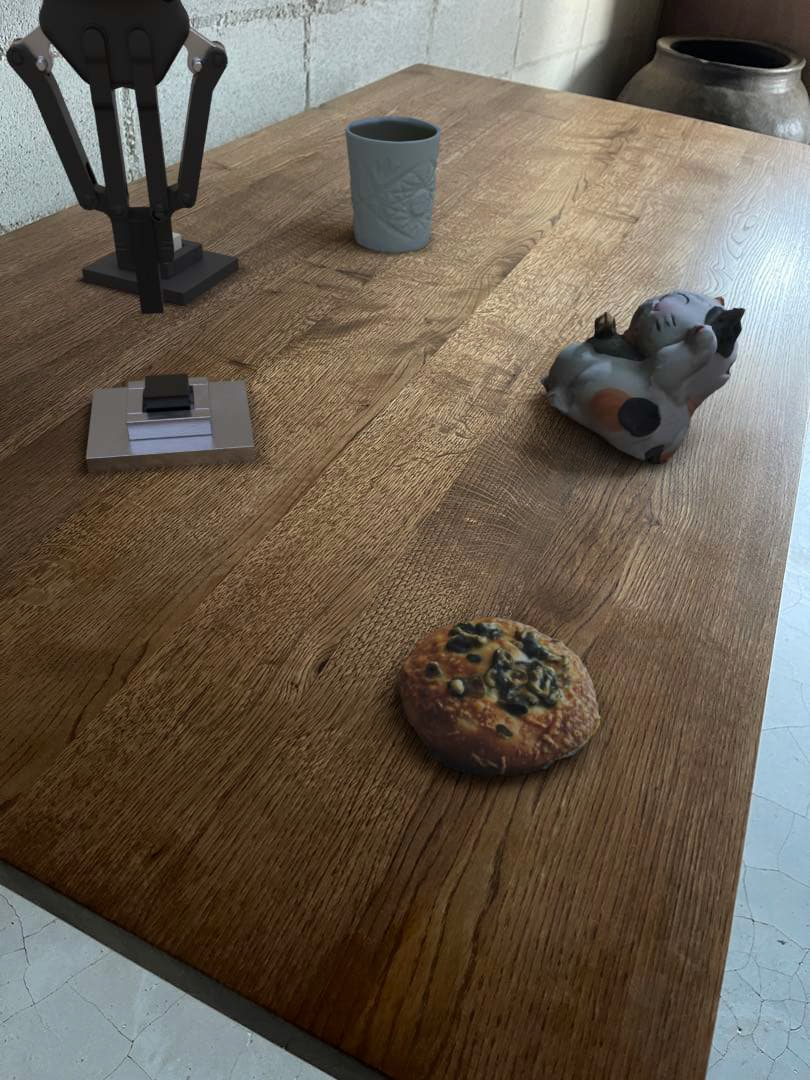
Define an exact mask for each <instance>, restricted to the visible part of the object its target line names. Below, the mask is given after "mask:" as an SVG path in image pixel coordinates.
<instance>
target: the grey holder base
mask: <svg viewBox="0 0 810 1080" xmlns="http://www.w3.org/2000/svg"><path fill="white" fill-rule="evenodd" d="M188 379H189V388H190V406H191V410H181V411H166V412H151V413H147V411H146V404H145V398H144V393H145V379H143V380H130V381H128V382H127V386H126V387H125V386H124V387H123V386H122V387H110V388H109V387H108V388H107V387H105V388H93V393H92V400H91V401H92V402H91V410H90V411H91V412H90V418H89V428H88V436H87V446H86V453H85V462H86V466H87V470H88V474H98V473H99V474H101V473H112V472H113V473H114V472H125V471H126V472H127V471H138V470H151V469H153V470H154V469H162V468H163V469H165V468H176V467H190V466H200V465H201V466H203V465H204V466H205V465H216V464H229V463H242V462H243V463H244V462H255V461H256V453H255V443H254V436H253V435H254V434H253V427H252V420H251V413H250V407H249V406H250V405H249V399H248V398H249V397H248V392H247V385H246V379H240V380H239V379H237V380H223V381H209V377H208V376H197V377H188Z"/></svg>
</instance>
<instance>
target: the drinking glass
mask: <svg viewBox="0 0 810 1080" xmlns="http://www.w3.org/2000/svg"><path fill="white" fill-rule="evenodd" d="M344 131H345V139H346V150H347V157H348V169H349V178H350V180H349V187H350V200H351V204H352V205H351V206H352V210H353V214H352V223H353V234H354V235H353V236H354V239H355V241H356V243H357V244H358V245H360V246H362V247H363V248H366V249H368V250H372V251H376V252H381V253H389V254H396V253H397V254H398V253H399V254H400V253H408V252H409V253H410V252H417V251H419V250H422V249H424V248H425V247H426V246H427V245H428V244H429V242H430V237H431V231H432V220H433V219H432V216H433V207H434V201H435V192H436V191H435V190H436V179H437V174H436V170H437V168H438V159H439V151H440V145H441V144H440V143H441V135H442V130H441V128H440V127H439V126H438V125H437V124H435V123H433V122H431V121H428V120H424V119H421V118H417V117H410V116H400V115H399V116H397V115H383V116H382V115H381V116H370V117H364V118H360V119H356V120H353V121H351V122H349V123H348V124H347V125H346V126H345V130H344Z"/></svg>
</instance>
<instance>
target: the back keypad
mask: <svg viewBox="0 0 810 1080" xmlns="http://www.w3.org/2000/svg"><path fill="white" fill-rule="evenodd" d="M181 244H182V248H180V249H178V250H176V251H175V252H174V258H173V262H172V263H159V265H160V273H161V281H162V289H163V302H168V303H171V304H176V305H180V306H186V305H188V304H190V303H191V302H193V301H194V300H196V299H197V298H199V297H200V296H202V295H204V294H205V293H206V292H208V291H210V290H211V289H213V288H214V287H215V286H217V285H219V284H220V283H222V282H224V280H225V279H227V278H229V277H230V276H232V275H234V274H235V273H236V272H238V271H239V270H240V268H239V267H240V266H239V265H240V264H239V258H238V257H236V256H232V255H227V254H223V253H219V252H215V251H209V250H205V249H203V244H202V242H197V241H193V240H189V239H184V238H181ZM81 274H82V277H83V282H86V283H90V284H94V285H98V286H103V287H106V288H111V289H114V290H119V291H123V292H127V293H131V294H135V295H139V292H138V285H137V277H136V270H135V264H120V262H119V260H118V259H117V257H116V250H115V249H114V251H112V252H110V253H108V254H106V255H104V256H103V257H102V256H101V258H98V259H97V260H95V261H93V262H91V263H89V264H88V265H86V266H84V267H82V268H81Z"/></svg>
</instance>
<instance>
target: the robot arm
mask: <svg viewBox="0 0 810 1080" xmlns="http://www.w3.org/2000/svg"><path fill="white" fill-rule="evenodd" d="M51 45H52V46H53V47H54V48H55V50H56V51H57V52H58V53H59V54H60V55H61V57H63V59H64V60H65V62H66V63H67V64H68V65H69V66H70V67H71V69H72V70H73V71H74V72H75V73H76V75H77V76H78V77H79V78H80V79H81V80H82V81H83V82H85V84H87V85H89V86H88V87H89V92H90V98H91V99H90V100H91V105H92V109H93V113H94V120H95V128H96V133H97V139H98V147H99V155H100V160H101V161H100V162H101V168H102V175H103V182H104V185H103V184H99V182H98V180H97V178H96V175H95V171H94V170H93V167H92V165H91V163H90V160H89V158H88V155H87V153H86V151H85V150H86V149H85V148H84V146H83V143H82V141H81V138H80V135H79V133H78V131H77V128H76V125H75V123H74V120H73V118H72V116H71V112H70V111H69V108H68V106H67V103H66V100H65V98H64V96H63V93H62V90H61V88H60V86H59V83H58V81H57V80H56V77H55V75H54V73H53V72H52V70H53V67H54V65H55V59H54V55H53V53H52V51H51ZM183 47H185V49H186V50H187V57H186V66H187V69H188V71H189V72H190V73H192V78H191V82H190V88H189V95H188V102H187V108H186V109H187V110H186V118H185V124H184V131H183V138H182V144H181V153H180V160H179V167H178V175H177V182H175V183H172V184H170V185H168V178H167V177H168V176H167V167H166V160H165V158H166V157H165V149H164V140H163V133H162V122H161V115H160V105H159V95H158V85H160V84H161V83H162V82H163V80H164V79H165V78H166V76H167V74H168V73H169V71H170V69H171V67H172V65H173V64H174V62H175V60H176V58H177V56H178V55H179V53H180V52H181V50H182V48H183ZM5 53H6V54H5V59H6V62H7V63H8V65H9V66H10V67H11V69H12V70H13V71H14V72H15V73H16V75H17V76H18V78H20V79H21V81H22V82H23V83H24V84H25V85H26V87H27V88H28V90H30V92H31V95H32V96H33V99H34V102H35V104H36V106H37V108H38V111H39V113H40V116H41V118H42V120H43V122H44V125H45V126H46V129H47V132H48V134H49V137H50V139H51V141H52V144H53V146H54V149H55V151H56V153H57V155H58V158H59V160H60V162H61V165H62V168H63V169H64V172H65V173H66V177H67V179H68V182H69V184H70V187H71V188H72V191H73V194H74V195H75V199H76V201H77V203H78V205H79V206H80V207H81V208H82V209H83V210H85V211H93V210H94V211H97V212H101V213H103V214H105V215H106V217H108V218H109V220H110V223H111V229H112V236H113V243H114V248H115V249H114V251H115V250H116V257H117V259H118V260H119V262H120V264H135V270H136V277H137V285H138V292H139V294H138V298H139V306H140V313H141V315H155V314H164V301H163V289H162V281H161V273H160V265H159V263H172V262H173V258H174V241H173V233H174V231H173V226H172V225H173V223H172V216H173V215H174V214H175V212H177V211H180V210H182V209H191V208H193V207H195V205H196V203H197V199H198V198H197V197H198V192H199V185H200V179H201V171H202V164H203V159H204V153H205V146H206V139H207V133H208V126H209V121H210V113H211V107H212V99H213V93H214V91H215V89H216V87H217V85H218V83H219V81H220V80H221V78H222V76H223V74H224V72H225V70H226V68H227V66H228V64H229V61H228V60H229V59H228V55H227V49H226V47H225V45H224V44H223V43H222V42H221V41H218V40H211V39H209V38H208V37H206V36H205V35H203V34H202V33H201V32H199V31H198V30H196V29H195V28H194V27H192V26H191V22H190V15H189V14H188V11H187V10H186V9H185V6H184V5H183V3H182V0H42V3H41V6H40V9H39V12H38V26H36V27H35V28H34V29H32V30H31V31H30V32H29V33H27V34H26V35H24V36H23V37H17V38H15V39H13V41H11V43H10V45H9V47H8V48H7V50H6V52H5ZM122 88H126V89H129V90H133V91H134V95H135V103H136V109H137V116H138V123H139V132H140V133H139V134H140V140H141V145H142V146H141V148H142V156H143V164H144V172H145V179H146V186H147V187H146V189H147V195H148V196H147V197H148V204H149V206H130V193H129V186H128V181H127V180H128V179H127V172H126V165H125V157H124V149H123V142H122V135H121V127H120V119H119V113H118V105H117V103H118V102H117V94H116V93H117V92H116V90H118V89H122Z"/></svg>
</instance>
